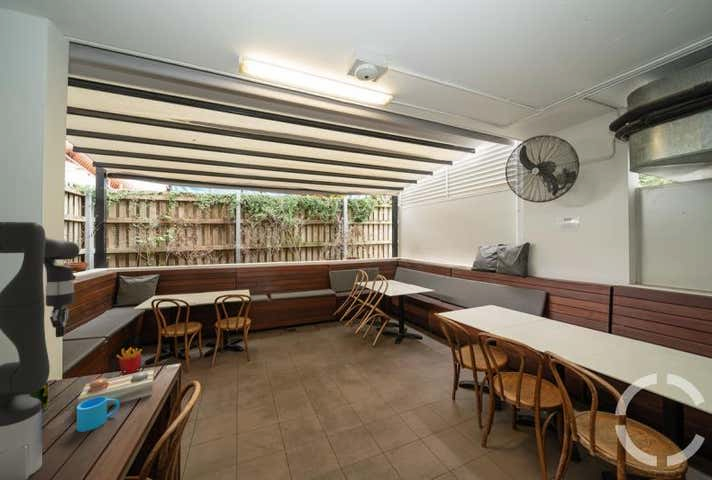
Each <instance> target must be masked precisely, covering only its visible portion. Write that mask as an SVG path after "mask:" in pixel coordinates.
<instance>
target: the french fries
mask: <svg viewBox="0 0 712 480" xmlns="http://www.w3.org/2000/svg"><path fill="white" fill-rule="evenodd" d="M142 350H143V349H142V348H140V349H139V348H137V347H136V348H135V349H134V348H133V347H129V348H128V349H127V350H125V348H122V349H121V355H122V356H121V355H119V354H117V355H116V358H118V360H119V361H118V362H119V367H120V374H121V375H120V376H125V375H129V374H134V373H138V372H141V371H140V370H141V362H142V354H141V352H142ZM137 369H138V370H137ZM124 371H126V372H124Z"/></svg>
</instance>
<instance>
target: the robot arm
mask: <svg viewBox="0 0 712 480" xmlns="http://www.w3.org/2000/svg"><path fill="white" fill-rule="evenodd" d="M0 254H23V260H22V264H21V266H20V269H19V270H18V272H17V273H16V274H15V276H14V277H13V278H12V279H11V280H10V281H9V282H8V283H7V284H6V285H5V287H4V288H3V289H2V290H1V291H0V331H1V332H2V333H3V335H5V337H7V339H8V340H9V341H10V342H11V343H12V344H13V346H14V347H15V349H16V351H17V354H18V361H12V362H6V363H3V364H0V480H28V479H29V477H30V476H32V475H33V474H35V473H36V472H37V471H38V470H39V469H41V467H42V465H43V453H42V452H43V449H42V448H43V439H42V435H43V432H42V430H43V429H42V427H43V426H42V424H43V423H42V421H43V417H42V412H43V411H42V404H41V401H40V400H39V399H37V398H34V397H31V396H29V394H31V393H35V392H37V391H39V390H40V389H42V388H43V386H44V385H45V384H46V382H47V380H49V376H50V369H51V368H50V367H51V366H50V361H49V360H50V359H49V353H48V348H47V342H46V331H45V311H46V310H45V306H46V307H52V310H51V311H50V314H51V316H49V319H50V320H49V321H50V322H51V326H52V327H53V328H55V338H62V337H64V336H65V334H66V325H67V323H68V319H69V315H70V308H69V307H68V305H71V304H73V303H74V302H75V288H74V287H75V285H74V275H73V274H74V269H73V267H72V266H70V265H64V264H60V263H58V260H61V261H62V260H63V261H65V260H73V259H75V258H77V257H78V256H79V254H80V247H79V245H78V244H77V243H75V242H74V241H69V240H62V239H61V240H60V239H56V238H54V237H50V236H46V231H45V228H44V227H43V225H42V224H41V223H40V222H34V221H29V222H28V221H26V222H25V221H0ZM44 267H45V272H46V273H45V274H46V284H45V287H44ZM44 288H45V292H44Z"/></svg>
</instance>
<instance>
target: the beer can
mask: <svg viewBox="0 0 712 480" xmlns="http://www.w3.org/2000/svg"><path fill="white" fill-rule="evenodd" d="M49 382H50V381H49V379H48V380H47V382H46V384H45V385H44V386H43V388H42V389H40V390H39V391H37V392H35V393H31V394H28V396H31V397H34V398H37V399H39V400H40V401H41V404H42V412H43V411H45V410H47V409H48V407H49V405H50V401H49V400H50V388H49V386H50V383H49Z"/></svg>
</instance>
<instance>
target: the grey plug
mask: <svg viewBox="0 0 712 480" xmlns="http://www.w3.org/2000/svg"><path fill="white" fill-rule="evenodd" d="M139 372H140V373H136V374H134V375H133V376H132V380H133V382H136V381H140V380H144V379H146V377H147V372H143V371H139Z"/></svg>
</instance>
